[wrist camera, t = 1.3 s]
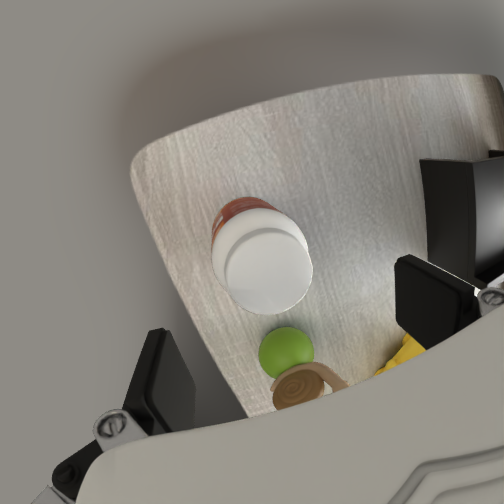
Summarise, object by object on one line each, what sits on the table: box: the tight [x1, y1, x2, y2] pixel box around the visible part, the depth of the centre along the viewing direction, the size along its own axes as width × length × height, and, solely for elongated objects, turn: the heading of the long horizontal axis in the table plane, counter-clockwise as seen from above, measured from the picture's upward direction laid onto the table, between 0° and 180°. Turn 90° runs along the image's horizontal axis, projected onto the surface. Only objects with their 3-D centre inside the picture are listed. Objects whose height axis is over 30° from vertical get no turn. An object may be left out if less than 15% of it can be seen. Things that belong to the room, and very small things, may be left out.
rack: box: [420, 150, 504, 290], centre depth 23 cm, size 12×16×10 cm
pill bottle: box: [211, 197, 313, 315], centre depth 20 cm, size 6×6×11 cm
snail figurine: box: [259, 327, 350, 410], centre depth 23 cm, size 5×6×12 cm
